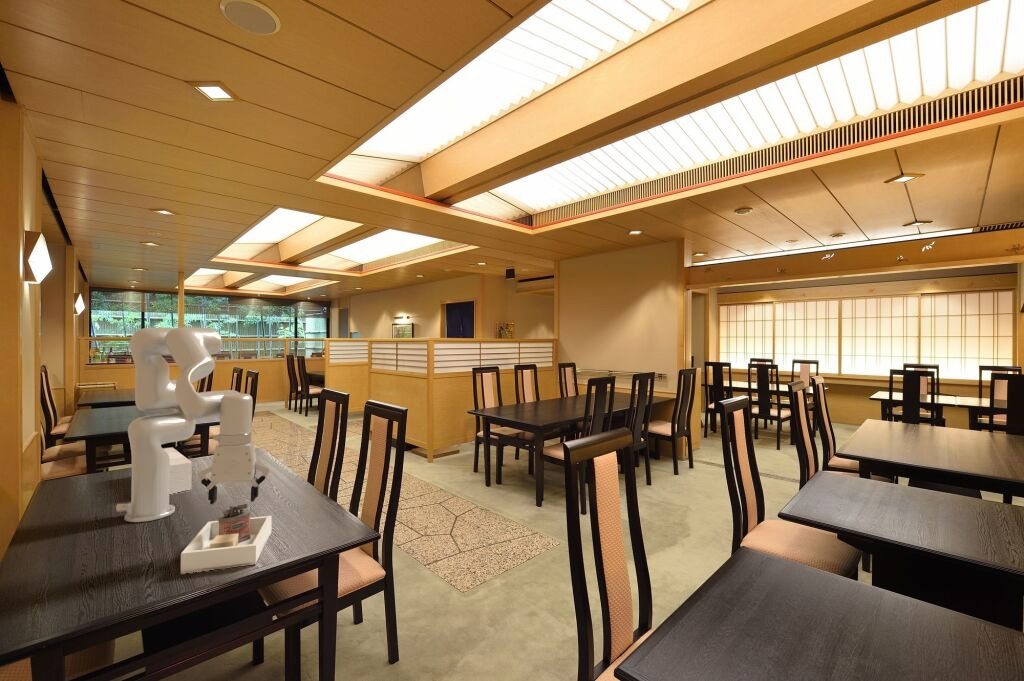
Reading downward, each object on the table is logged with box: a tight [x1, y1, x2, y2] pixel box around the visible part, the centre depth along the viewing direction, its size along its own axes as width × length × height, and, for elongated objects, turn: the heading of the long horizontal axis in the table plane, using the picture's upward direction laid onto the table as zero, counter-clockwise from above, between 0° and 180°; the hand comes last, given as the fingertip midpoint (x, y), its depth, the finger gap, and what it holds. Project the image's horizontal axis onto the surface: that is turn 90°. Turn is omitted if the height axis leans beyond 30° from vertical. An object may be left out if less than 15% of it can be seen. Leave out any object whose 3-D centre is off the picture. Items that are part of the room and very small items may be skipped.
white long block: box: [163, 446, 193, 495], centre depth 176 cm, size 32×11×11 cm, turn 47°
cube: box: [210, 533, 238, 549], centre depth 116 cm, size 5×5×5 cm
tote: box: [180, 515, 273, 575], centre depth 121 cm, size 16×20×5 cm
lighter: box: [217, 502, 252, 543], centre depth 125 cm, size 8×3×10 cm, turn 145°
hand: (233, 501), depth 126 cm, fingers open, 9 cm apart
